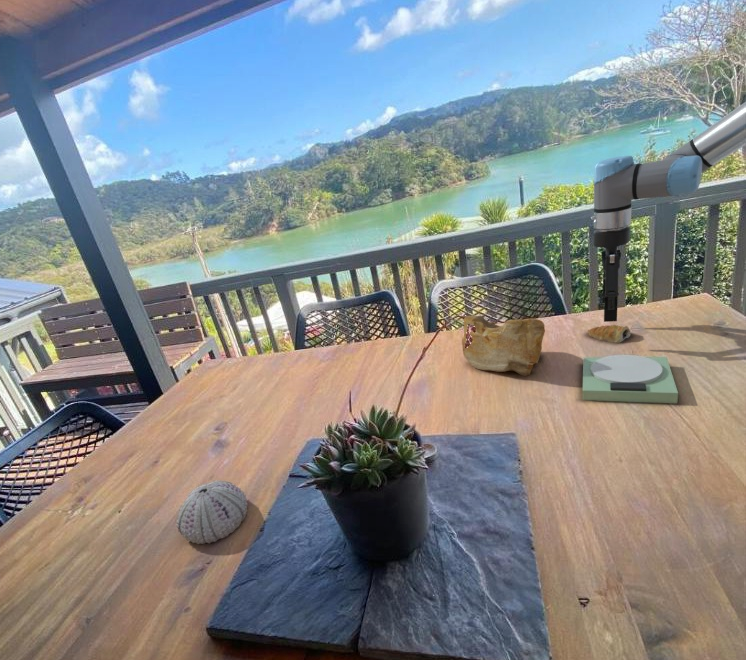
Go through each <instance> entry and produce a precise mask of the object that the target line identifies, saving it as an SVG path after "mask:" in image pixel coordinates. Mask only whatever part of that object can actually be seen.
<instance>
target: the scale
mask: <svg viewBox="0 0 746 660" xmlns="http://www.w3.org/2000/svg"><path fill="white" fill-rule="evenodd" d="M582 363H583V365H582V401H599V402H624V403H625V402H627V403H628V402H629V403H655V404H657V403H658V404H678V401H679V400H678V399H679V392H678V388H677V386H676V381H675V378H674V376H673V373H672V370H671V367H670V363H669V359H668V357H667V356H641V355H634V354H614V355H607V356H584V357H583V358H582Z"/></svg>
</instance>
